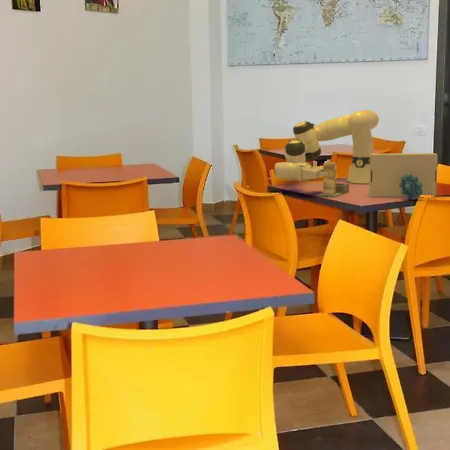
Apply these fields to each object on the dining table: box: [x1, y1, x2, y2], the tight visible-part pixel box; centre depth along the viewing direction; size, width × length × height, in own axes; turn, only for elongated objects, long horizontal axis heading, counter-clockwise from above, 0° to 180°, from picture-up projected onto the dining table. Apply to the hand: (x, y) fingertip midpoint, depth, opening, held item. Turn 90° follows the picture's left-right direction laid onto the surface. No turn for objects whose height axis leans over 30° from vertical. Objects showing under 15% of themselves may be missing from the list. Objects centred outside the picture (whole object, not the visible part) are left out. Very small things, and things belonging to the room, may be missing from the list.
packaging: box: [368, 152, 439, 198], centre depth 319 cm, size 30×6×20 cm, turn 84°
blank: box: [322, 161, 337, 195], centre depth 324 cm, size 4×5×15 cm
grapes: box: [399, 173, 423, 201], centre depth 308 cm, size 12×7×12 cm, turn 48°
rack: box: [336, 182, 350, 195], centre depth 335 cm, size 8×10×4 cm
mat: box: [317, 192, 343, 198], centre depth 326 cm, size 9×9×1 cm
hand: (331, 173), depth 323 cm, fingers open, 8 cm apart
